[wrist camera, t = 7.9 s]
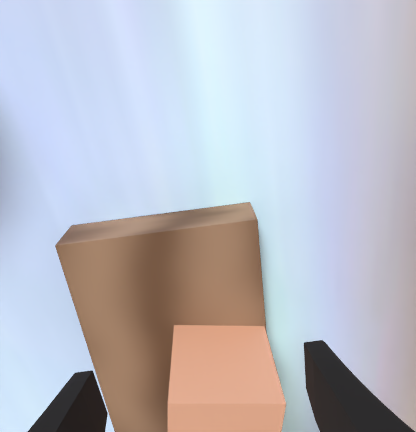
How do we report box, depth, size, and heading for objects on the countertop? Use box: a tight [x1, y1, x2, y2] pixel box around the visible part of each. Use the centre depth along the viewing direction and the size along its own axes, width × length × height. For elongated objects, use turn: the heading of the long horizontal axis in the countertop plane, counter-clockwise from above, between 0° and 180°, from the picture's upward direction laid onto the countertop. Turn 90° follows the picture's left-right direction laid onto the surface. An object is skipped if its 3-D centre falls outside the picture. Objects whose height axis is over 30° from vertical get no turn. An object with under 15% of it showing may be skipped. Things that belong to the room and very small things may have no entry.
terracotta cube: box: [168, 325, 286, 432], centre depth 18 cm, size 5×5×5 cm
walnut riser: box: [55, 202, 266, 432], centre depth 21 cm, size 10×14×2 cm
